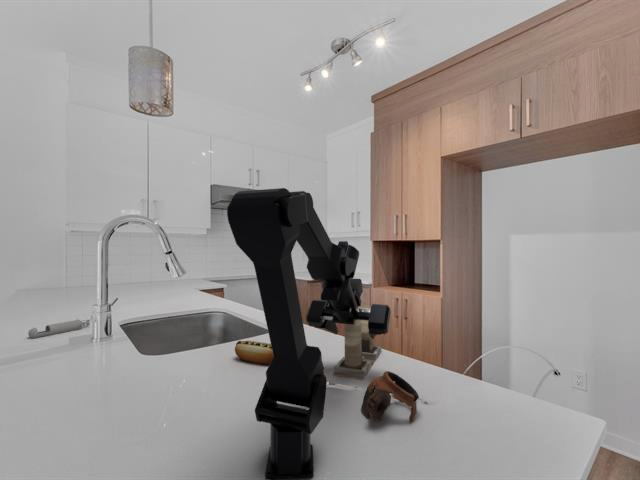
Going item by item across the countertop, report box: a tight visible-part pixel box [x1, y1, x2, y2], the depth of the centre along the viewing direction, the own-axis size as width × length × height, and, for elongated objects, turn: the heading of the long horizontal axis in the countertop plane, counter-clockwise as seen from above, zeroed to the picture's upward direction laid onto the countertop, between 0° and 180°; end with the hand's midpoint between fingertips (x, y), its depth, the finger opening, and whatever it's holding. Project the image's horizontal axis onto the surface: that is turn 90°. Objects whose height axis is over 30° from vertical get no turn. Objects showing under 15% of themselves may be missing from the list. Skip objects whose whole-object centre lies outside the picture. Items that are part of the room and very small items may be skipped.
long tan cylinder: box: [358, 304, 374, 353], centre depth 87 cm, size 4×4×13 cm
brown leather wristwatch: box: [360, 370, 420, 422], centre depth 58 cm, size 12×10×8 cm
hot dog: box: [234, 340, 273, 365], centre depth 85 cm, size 5×13×5 cm, turn 67°
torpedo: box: [28, 319, 91, 339], centre depth 113 cm, size 18×5×7 cm, turn 152°
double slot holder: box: [332, 344, 383, 381], centre depth 82 cm, size 21×7×3 cm, turn 158°
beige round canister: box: [344, 319, 362, 370], centre depth 76 cm, size 4×4×13 cm
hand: (354, 334), depth 77 cm, fingers open, 9 cm apart
